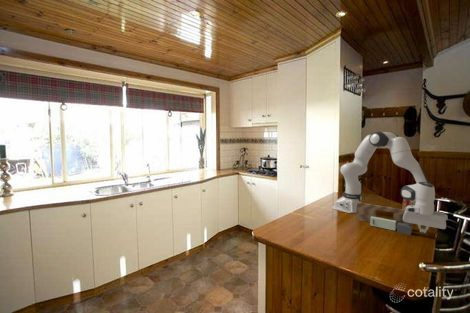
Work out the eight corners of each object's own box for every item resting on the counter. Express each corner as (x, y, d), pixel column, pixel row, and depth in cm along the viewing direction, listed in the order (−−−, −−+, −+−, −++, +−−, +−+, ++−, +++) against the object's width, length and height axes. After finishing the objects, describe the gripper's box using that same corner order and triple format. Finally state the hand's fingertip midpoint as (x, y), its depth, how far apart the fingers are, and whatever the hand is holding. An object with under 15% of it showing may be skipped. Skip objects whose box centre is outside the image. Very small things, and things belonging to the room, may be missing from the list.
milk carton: (414, 214, 179) (416, 188, 177) (418, 218, 171) (419, 191, 169) (400, 213, 183) (401, 187, 181) (402, 216, 175) (404, 190, 173)
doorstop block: (396, 232, 148) (397, 224, 148) (397, 229, 152) (398, 222, 151) (410, 235, 143) (411, 227, 143) (411, 232, 147) (411, 224, 147)
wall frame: (356, 219, 170) (356, 202, 169) (357, 219, 171) (357, 202, 170) (411, 231, 149) (412, 211, 148) (412, 230, 151) (413, 211, 149)
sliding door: (369, 225, 158) (370, 217, 157) (371, 224, 161) (371, 216, 160) (395, 230, 149) (395, 222, 148) (395, 229, 152) (396, 220, 151)
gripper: (447, 211, 136) (446, 235, 137) (404, 205, 149) (403, 226, 150) (447, 214, 131) (446, 238, 132) (402, 207, 144) (401, 229, 146)
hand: (422, 232), depth 141 cm, fingers closed
